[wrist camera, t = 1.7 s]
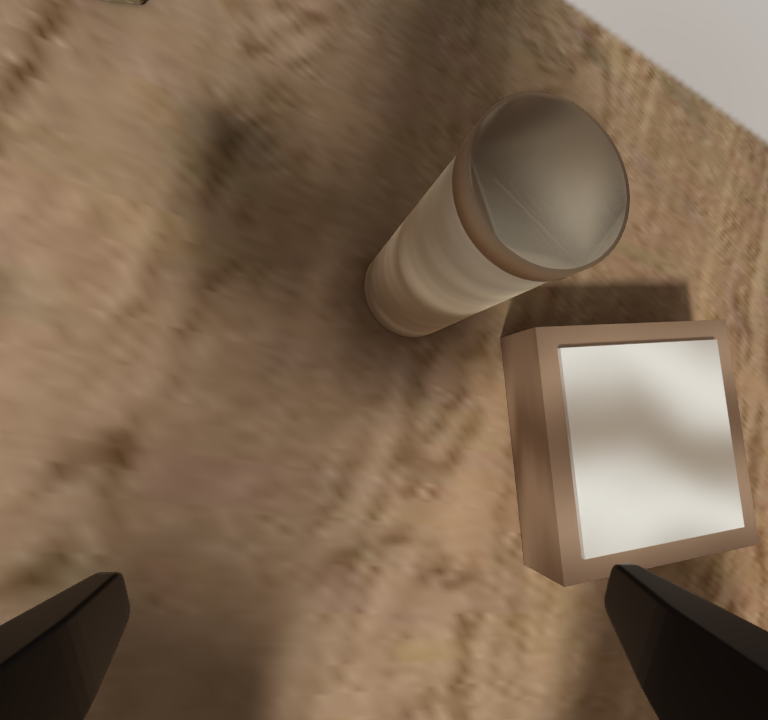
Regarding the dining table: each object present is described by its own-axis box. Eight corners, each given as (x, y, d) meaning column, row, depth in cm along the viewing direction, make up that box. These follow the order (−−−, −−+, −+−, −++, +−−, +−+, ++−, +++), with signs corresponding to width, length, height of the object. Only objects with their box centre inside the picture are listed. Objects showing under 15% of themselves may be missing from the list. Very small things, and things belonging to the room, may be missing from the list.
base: (701, 529, 26) (763, 545, 22) (524, 564, 22) (567, 588, 19) (674, 329, 27) (729, 318, 23) (500, 337, 23) (537, 326, 20)
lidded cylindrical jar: (461, 337, 23) (640, 272, 12) (366, 341, 22) (475, 273, 11) (452, 241, 23) (617, 101, 13) (358, 240, 22) (456, 82, 11)
